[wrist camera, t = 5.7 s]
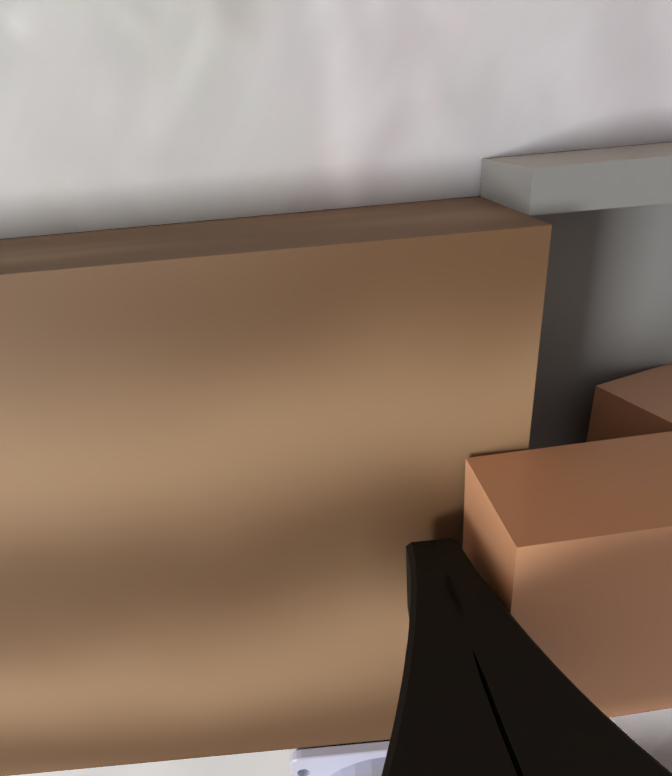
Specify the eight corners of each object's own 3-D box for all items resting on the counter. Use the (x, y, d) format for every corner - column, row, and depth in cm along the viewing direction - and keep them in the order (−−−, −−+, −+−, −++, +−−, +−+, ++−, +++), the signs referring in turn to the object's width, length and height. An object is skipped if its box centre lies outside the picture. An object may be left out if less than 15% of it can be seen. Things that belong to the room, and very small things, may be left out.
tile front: (657, 599, 13) (736, 697, 11) (460, 628, 13) (499, 735, 10) (704, 427, 11) (818, 505, 8) (465, 458, 10) (517, 547, 8)
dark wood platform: (461, 612, 18) (498, 729, 15) (40, 651, 18) (-25, 778, 15) (480, 196, 12) (552, 224, 8) (-164, 254, 12) (-365, 307, 8)
